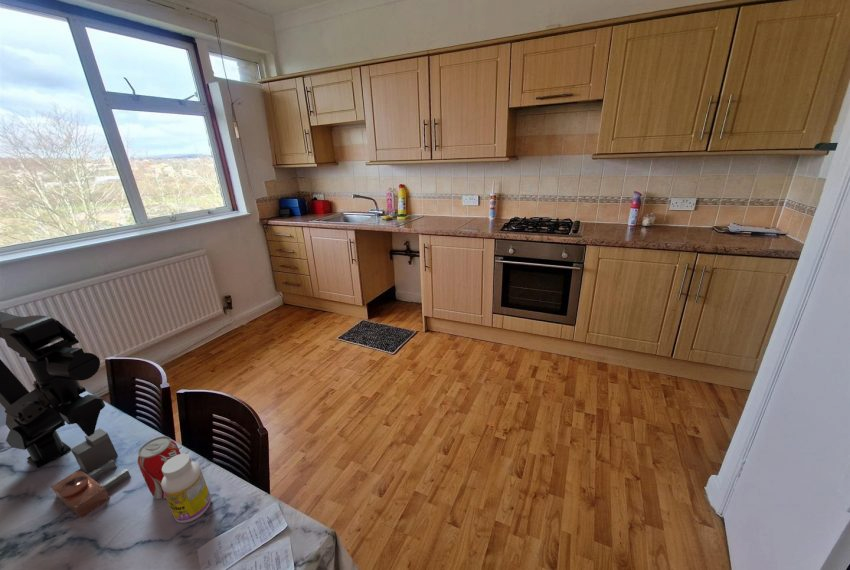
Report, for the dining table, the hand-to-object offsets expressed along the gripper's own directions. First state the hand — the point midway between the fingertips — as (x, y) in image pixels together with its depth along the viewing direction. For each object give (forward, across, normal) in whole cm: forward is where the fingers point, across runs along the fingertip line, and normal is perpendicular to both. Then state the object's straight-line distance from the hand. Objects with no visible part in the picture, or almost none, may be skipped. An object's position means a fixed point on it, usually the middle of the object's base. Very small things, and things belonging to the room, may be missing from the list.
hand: (81, 428), depth 82 cm
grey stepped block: (+11, 0, +1) cm, 11 cm away
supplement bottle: (+10, +35, +2) cm, 36 cm away
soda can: (+10, +25, +3) cm, 27 cm away
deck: (+11, +8, -4) cm, 14 cm away
